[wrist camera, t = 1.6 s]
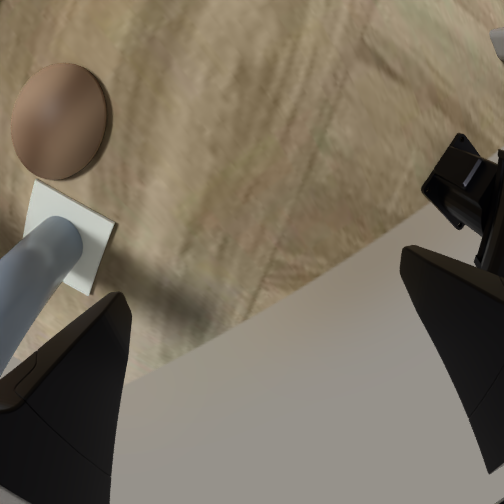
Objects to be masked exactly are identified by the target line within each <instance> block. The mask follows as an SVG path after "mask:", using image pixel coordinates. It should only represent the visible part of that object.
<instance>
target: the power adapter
mask: <svg viewBox="0 0 504 504" xmlns="http://www.w3.org/2000/svg"><path fill="white" fill-rule="evenodd" d="M490 38H491V40H492V43H493V46H494V48H495V51H496V53H497V56H498V57H499V59H500V60H504V27H501V28H497V29H493V30H491V31H490Z"/></svg>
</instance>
